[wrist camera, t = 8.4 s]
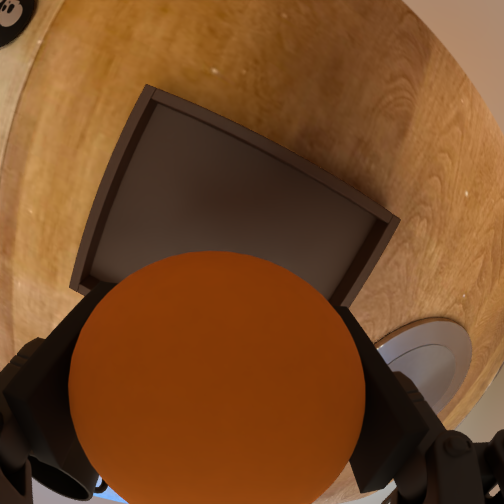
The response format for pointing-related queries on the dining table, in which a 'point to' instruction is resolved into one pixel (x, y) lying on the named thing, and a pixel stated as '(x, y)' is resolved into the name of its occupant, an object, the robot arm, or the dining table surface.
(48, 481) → the mug
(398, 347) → the plate
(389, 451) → the robot arm
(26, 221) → the dining table surface
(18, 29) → the beverage can
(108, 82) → the dining table surface
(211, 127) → the tray
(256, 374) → the orange
